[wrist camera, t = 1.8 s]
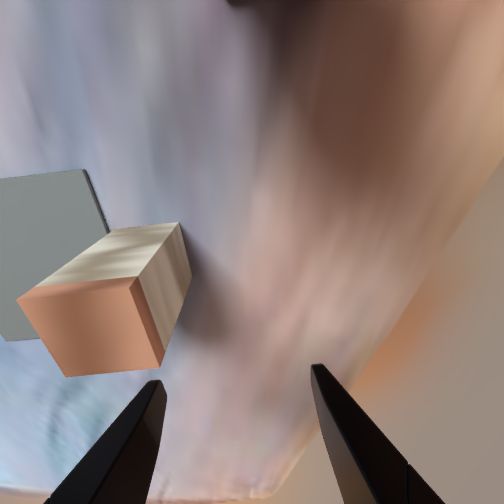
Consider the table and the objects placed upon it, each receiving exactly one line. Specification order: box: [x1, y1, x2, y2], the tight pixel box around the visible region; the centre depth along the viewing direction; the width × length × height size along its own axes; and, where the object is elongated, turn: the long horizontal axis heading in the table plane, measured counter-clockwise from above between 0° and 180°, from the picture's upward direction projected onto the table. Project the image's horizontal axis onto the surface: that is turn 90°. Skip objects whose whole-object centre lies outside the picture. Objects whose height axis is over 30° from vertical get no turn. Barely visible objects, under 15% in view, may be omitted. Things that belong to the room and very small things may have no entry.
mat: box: [0, 169, 109, 341], centre depth 20 cm, size 13×14×1 cm
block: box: [16, 222, 192, 377], centre depth 16 cm, size 5×5×9 cm
